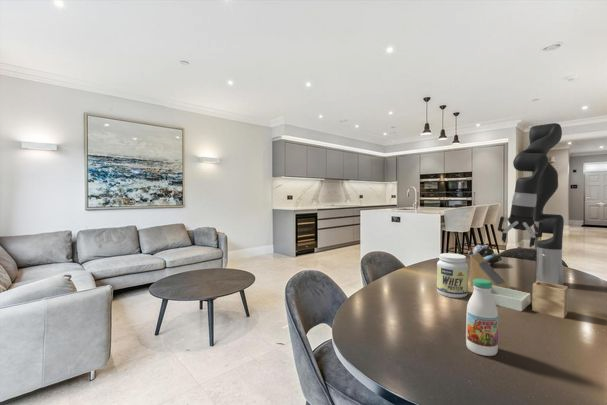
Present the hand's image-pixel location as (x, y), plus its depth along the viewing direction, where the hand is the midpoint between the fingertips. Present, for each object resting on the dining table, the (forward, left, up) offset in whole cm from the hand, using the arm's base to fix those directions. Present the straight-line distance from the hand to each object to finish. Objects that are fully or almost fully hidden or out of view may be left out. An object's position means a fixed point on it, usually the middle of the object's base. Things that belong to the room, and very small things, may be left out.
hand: (517, 244), depth 119 cm
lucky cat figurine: (-22, -58, -24) cm, 66 cm away
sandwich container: (0, -16, -24) cm, 28 cm away
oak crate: (-5, +10, -23) cm, 26 cm away
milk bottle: (+35, +35, -24) cm, 55 cm away
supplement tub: (+21, -10, -24) cm, 33 cm away
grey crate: (+5, 0, -23) cm, 24 cm away
